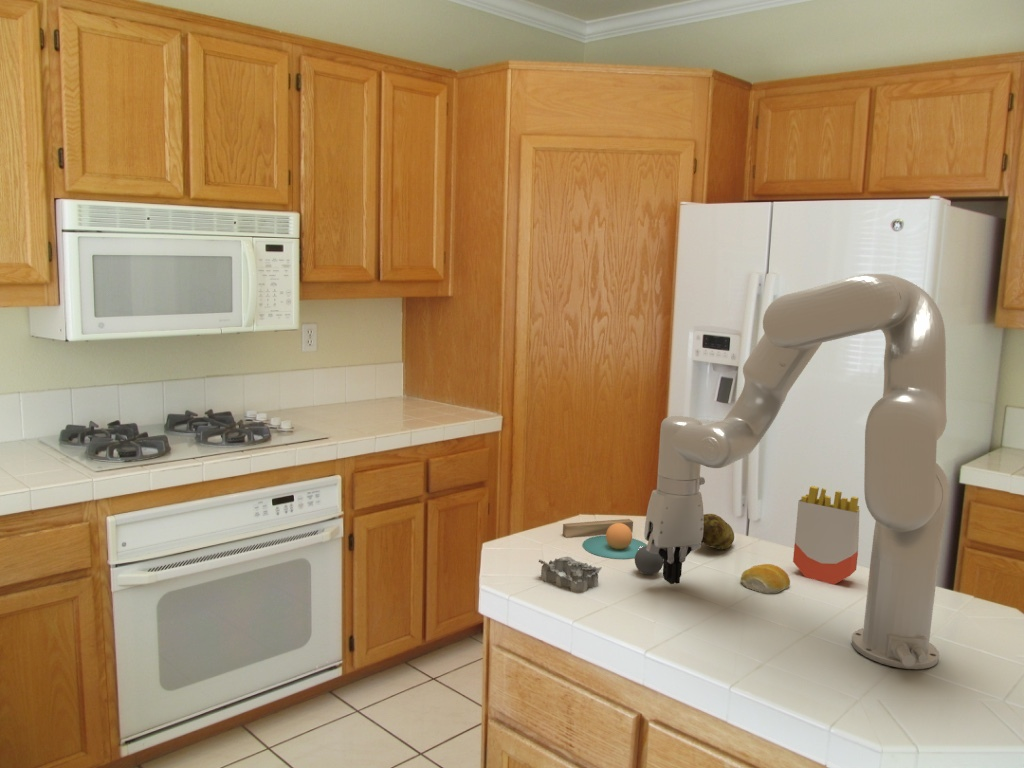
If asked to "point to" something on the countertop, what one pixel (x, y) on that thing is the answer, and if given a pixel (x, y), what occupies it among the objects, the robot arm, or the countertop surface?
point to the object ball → (619, 536)
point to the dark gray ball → (648, 561)
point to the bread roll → (765, 578)
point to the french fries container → (826, 536)
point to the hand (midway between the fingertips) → (671, 581)
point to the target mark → (603, 549)
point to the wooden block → (592, 527)
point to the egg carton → (570, 574)
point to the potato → (717, 532)
